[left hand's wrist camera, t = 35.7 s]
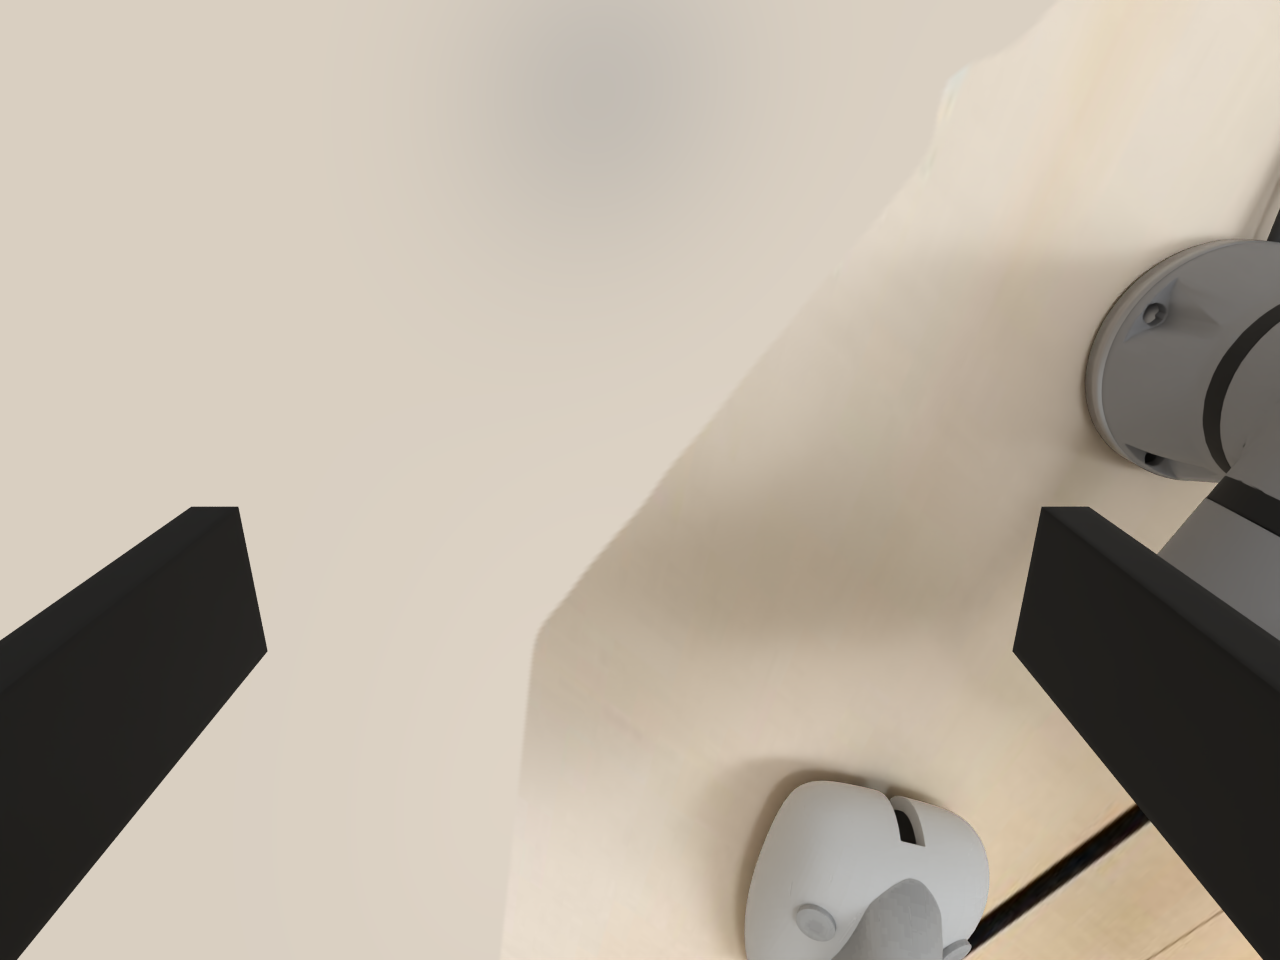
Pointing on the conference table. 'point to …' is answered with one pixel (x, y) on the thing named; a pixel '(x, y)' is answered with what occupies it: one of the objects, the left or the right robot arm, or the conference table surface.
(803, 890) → the projector
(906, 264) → the conference table surface
